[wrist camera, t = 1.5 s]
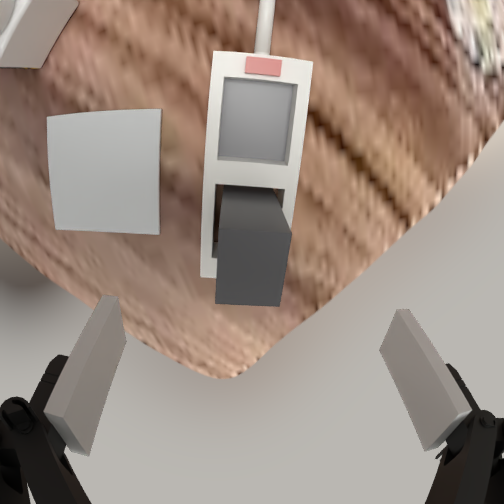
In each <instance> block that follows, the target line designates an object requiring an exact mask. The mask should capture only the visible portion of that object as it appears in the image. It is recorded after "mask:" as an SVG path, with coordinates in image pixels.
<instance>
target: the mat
mask: <svg viewBox="0 0 504 504" xmlns="http://www.w3.org/2000/svg"><path fill="white" fill-rule="evenodd" d="M161 118H162V109H130V110H110V111H96V112H84V113H74V114H65V115H56V116H49V117H47V145H48V165H49V178H50V189H51V198H52V207H53V214H54V222H55V228H56V230H76V231H97V232H117V233H136V234H154V235H159V234H160V140H161Z"/></svg>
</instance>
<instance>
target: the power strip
mask: <svg viewBox="0 0 504 504" xmlns="http://www.w3.org/2000/svg"><path fill="white" fill-rule="evenodd" d="M274 9H275V0H260V4H259V12H258V21H257V30H256V39H255V48H254V54H252V53H240V52H225V51H214V52H213V61H212V71H211V82H210V93H209V104H208V117H207V130H206V145H205V161H204V179H203V200H202V226H201V264H200V277H206V278H216V273H217V252H218V242H214V224H215V206H216V189H217V184H226V185H240V186H254V187H266V188H277V189H278V196H277V199H278V201H279V204H280V206H281V208H282V211H283V213H284V216H285V218H286V220H287V223H288V225H289V228H290V230H291V225H292V218H293V212H294V205H295V199H296V192H297V185H298V178H299V171H300V164H301V156H302V149H303V142H304V134H305V126H306V118H307V110H308V102H309V93H310V85H311V76H312V67H313V62H311V61H305V60H299V59H293V58H286V57H279V56H271V55H270V46H271V37H272V28H273V18H274Z"/></svg>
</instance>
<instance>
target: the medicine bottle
mask: <svg viewBox="0 0 504 504" xmlns="http://www.w3.org/2000/svg"><path fill="white" fill-rule="evenodd" d="M78 4H79V2H78V1H76V0H0V68H23V69H40V68H41V67H42V65H43V63H44V61H45V59H46V58H47V56H48V54H49V52H50V50H51V48H52V47H53V45H54V43H55V41H56V40H57V38H58V36H59V34H60V33H61V31H62V29H63V28H64V26H65V25H66V23H67V21H68V20H69V18H70V17H71V15H72V14H73V12H74V11H75V9H76V8H77V6H78Z"/></svg>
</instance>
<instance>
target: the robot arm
mask: <svg viewBox="0 0 504 504" xmlns="http://www.w3.org/2000/svg"><path fill="white" fill-rule="evenodd" d="M125 344H126V337H125V332H124V327H123V321H122V316H121V310H120V304H119V298H118V296H109V295H103V296H102V297H101V299H100V301H99V303H98V304H97V306H96V308H95V310H94V311H93V313H92V315H91V317H90V319H89V320H88V322H87V324H86V326H85V328H84V330H83V331H82V333H81V335H80V337H79V339H78V341H77V343H76V345H75V347H74V348H73V350H72V352H71V354H70V356H69V357H68V356H64V355H57V356H56V357H55V358H54V359H53V360H52V361H51V362H50V363H49V365H48V367H47V369H46V371H45V374H43V376H42V378H41V382H39V384H38V386H37V388H36V390H35V392H34V394H33V397H32V398H31V400H30V403H28V401H26V400H25V399H23V398H21V397H11V398H9V399H7V400H5V401H4V403H3V404H2V405H1V407H0V504H30V498H29V493H28V487H27V483H28V486H29V488H30V491H31V493H32V496H33V498H34V500H35V502H36V504H91V502H90V501H89V499H88V497H87V495H86V493H85V492H84V490H83V488H82V486H81V485H80V482H79V481H78V479H77V477H76V475H75V473H74V471H73V469H72V467H71V465H70V463H69V461H68V459H67V457H66V455H65V453H64V450H65V447H66V445H67V447H68V448H69V449H70V451H71V452H75V453H78V454H82V455H86V456H89V455H90V451H91V447H92V444H93V441H94V437H95V434H96V430H97V427H98V424H99V420H100V417H101V414H102V411H103V408H104V405H105V401H106V398H107V395H108V392H109V389H110V386H111V383H112V380H113V378H114V375H115V372H116V369H117V366H118V363H119V361H120V358H121V355H122V352H123V350H124V347H125ZM379 351H380V353H381V354H382V357H383V359H384V361H385V363H386V365H387V367H388V369H389V371H390V374H391V376H392V378H393V380H394V382H395V384H396V387H397V389H398V391H399V393H400V395H401V397H402V400H403V401H404V404H405V406H406V408H407V411H408V413H409V415H410V418H411V420H412V422H413V425H414V427H415V429H416V432H417V434H418V436H419V439H420V441H421V444H422V446H423V449H424V451H429V450H432V449H435V448H438V447H439V446H440V445H441V444H442V443H443V442H444V441H445V440H446V442H447V446H446V447H445V448H444V449H443V450H442V451H441V452H440V453H439V454H438V455H437V456H436V458H435V459H438V458H439V457H440V456H441V455H442V458H441V459H440V464H439V467H438V470H437V473H436V476H435V479H434V481H433V484H432V487H431V489H430V492H429V495H428V497H427V500H426V502H425V504H504V458H502V453H503V452H504V418H495V416H494V415H493V414H492V413H491V412H489V411H486V410H480V408H479V407H478V405H477V403H476V402H475V400H474V398H473V397H472V395H471V393H470V391H469V390H468V388H467V387H466V386H465V383H464V381H463V380H461V379H462V378H461V377H460V375H459V373H458V372H457V370H456V369H454V368H453V367H452V366H451V365H450V364H445V363H444V361H443V360H442V358H441V357H440V355H439V354H438V352H437V351H436V349H435V347H434V346H433V344H432V343H431V341H430V340H429V338H428V337H427V335H426V334H425V332H424V331H423V329H422V328H421V326H420V325H419V323H418V322H417V320H416V319H415V317H414V316H413V315H412V313H411V312H410V310H409V309H402V310H401V309H399V310H396V313H395V315H394V317H393V320H392V322H391V325H390V327H389V329H388V332H387V334H386V336H385V339H384V341H383V343H382V345H381V347H380V350H379Z"/></svg>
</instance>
